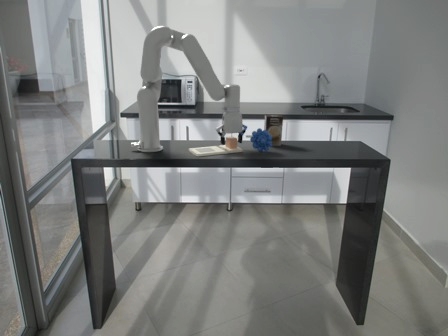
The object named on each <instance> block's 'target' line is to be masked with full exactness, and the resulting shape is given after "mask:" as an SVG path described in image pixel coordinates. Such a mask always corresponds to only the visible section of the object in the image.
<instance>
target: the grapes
mask: <svg viewBox="0 0 448 336" xmlns="http://www.w3.org/2000/svg"><path fill="white" fill-rule="evenodd" d="M249 140H250V142H251V143H252V147H253V149H256V150H257V151H258V152H260V153H261V152H263V151H265V152H267V151H269V150H270V149H269V148H270V147H273V146H272V142H271V141H270V140H272V136H271V135H268V131H267V130H264V129H262V128H261V127H260V128H257V130H253V131H252V132H251V137H250V138H249Z"/></svg>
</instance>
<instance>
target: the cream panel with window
mask: <svg viewBox="0 0 448 336" xmlns="http://www.w3.org/2000/svg"><path fill="white" fill-rule="evenodd" d="M188 152H189V153H192V154H193V155H194V156H196V157H207V156H217V155H225V154H226V155H227V154H229V153H228V151H226V150H225V149H223V148H221V147H219V145H212V146H204V147H203V146H201V147H192V148H191V147H190V148H188Z"/></svg>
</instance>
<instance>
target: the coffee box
mask: <svg viewBox="0 0 448 336" xmlns="http://www.w3.org/2000/svg"><path fill="white" fill-rule="evenodd" d="M283 124H284V116H283V115H282V114H264V124H263V125H264V126H263V130H267V131H268V135H271V136H272V140H270V141H271V142H272V146H271V147H281V146H282V140H283V139H282V137H283V126H284V125H283Z"/></svg>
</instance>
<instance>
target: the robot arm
mask: <svg viewBox="0 0 448 336" xmlns="http://www.w3.org/2000/svg"><path fill="white" fill-rule="evenodd" d="M163 47H167V48H171V49H173V50H177V51H180V52H182V53H183V54H184V56H185V57H186V59H187V61H188V63H189V65H190V66H191V67H192V69H193V71H194V74H196V76H197V77H198V78H199V80H200V82H201V83H202V85H203V87H204V89H205V91H206V92H207V94H208V96H209V98H211V100H213V101H215V102H219V101H221V100H224V107H222V109H221V110H222V112H223V113H222V118H221V124H220V125H219V126H217V127H216V128H215V131H216V133H217V134H218V136H219V137H220V145H226V137H225V136H226V135H227V134H238V135H237V143H239V144H243V137H244V134H245V133H246V130H247V129H248V126H247V125H245V124H244V123H243V115H242V112H240V110H241V109H240V108H241V107H240V106H241V86H240V85H239V84H234V83H233V84H231V83H230V84H222V83H221V81H220V80H219V78H218V76H217V74H216V73H215V70H214V68H213V66H212V64H211V61H210V59H208V57H207V55H206V53H205V51H204V50H203V48H202V45H201V44H200V42H199V41H198V40H197V37H196V36H194V35H193V34H191V33H188V34H187V33H184V32H181V31H178V30H175V29H171V28H170V27H169V26H166V25H159V26H156V27H154V28H152V29H151V30H150V31H149V32H148V33H147V34H146V36H145V39H144V41H143V47H142V55H141V64H140V73H139V74H140V77H141V79H142V84H141V88H140V89H139V90H138V91H137V95H136V102H137V108H138V120H139V121H138V122H139V140H138V141H137V142H130V147H132V148H133V147H134V148H137V151H138V152H142V153H154V152H155V153H156V152H160V151H163V150H164V146H163V145H161V144H160V142H161V141H160V139H161V138H160V118H159V105H158V101H159V100H160V97H161V92H162V91H161V89H162V81H163V70H162V68H161V66H160V65H161V59H162V58H161V57H162V48H163Z"/></svg>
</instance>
